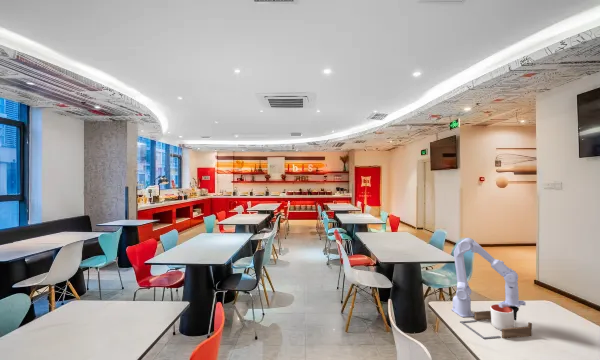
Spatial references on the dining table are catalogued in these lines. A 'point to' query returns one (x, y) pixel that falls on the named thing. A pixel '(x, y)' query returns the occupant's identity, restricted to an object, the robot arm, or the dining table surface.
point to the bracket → (477, 332)
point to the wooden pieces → (506, 331)
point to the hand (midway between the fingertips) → (512, 319)
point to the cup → (502, 317)
